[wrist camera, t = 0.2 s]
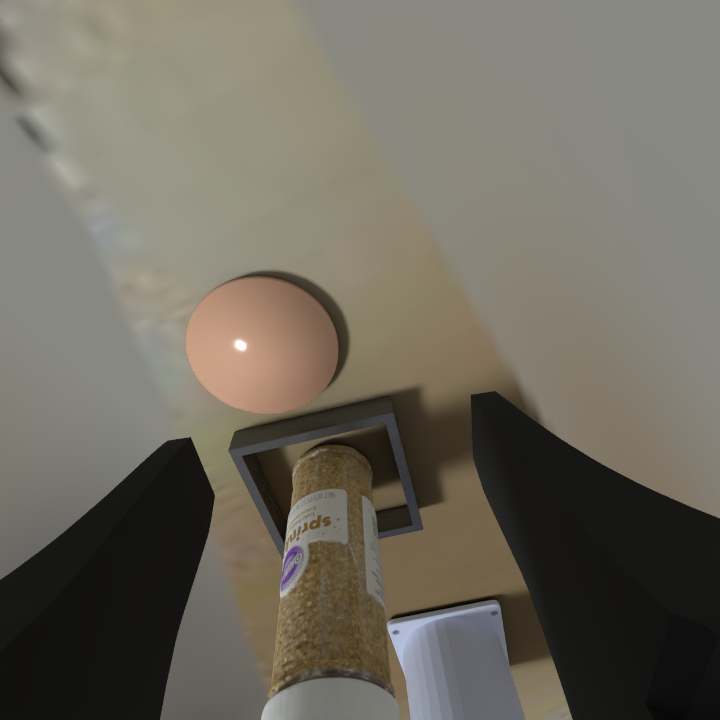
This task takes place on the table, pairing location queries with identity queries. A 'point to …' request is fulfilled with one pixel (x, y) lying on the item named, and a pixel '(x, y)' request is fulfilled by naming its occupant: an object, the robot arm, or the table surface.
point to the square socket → (316, 428)
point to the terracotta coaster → (262, 344)
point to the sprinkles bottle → (331, 597)
